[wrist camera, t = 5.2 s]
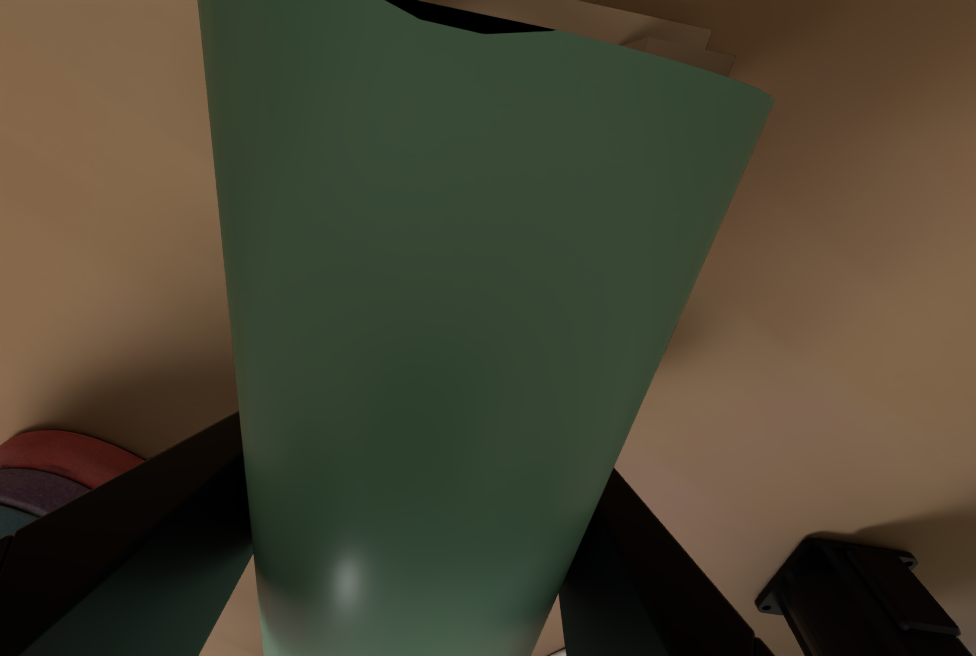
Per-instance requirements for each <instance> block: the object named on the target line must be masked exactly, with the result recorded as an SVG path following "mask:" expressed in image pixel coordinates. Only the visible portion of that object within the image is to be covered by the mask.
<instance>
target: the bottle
mask: <svg viewBox="0 0 976 656" xmlns="http://www.w3.org/2000/svg"><path fill="white" fill-rule="evenodd" d="M198 9H199V19H200V29H201V39H202V49H203V59H204V69H205V79H206V89H207V98H208V108H209V118H210V128H211V138H212V148H213V158H214V168H215V178H216V188H217V197H218V207H219V217H220V227H221V237H222V247H223V257H224V267H225V277H226V286H227V296H228V306H229V316H230V326H231V336H232V346H233V356H234V366H235V376H236V385H237V395H238V405H239V415H240V425H241V435H242V445H243V455H244V465H245V475H246V484H247V494H248V504H249V514H250V524H251V534H252V544H253V554H254V564H255V573H256V583H257V593H258V603H259V613H260V623H261V633H262V643H263V653H264V656H531V654H532V652H533V650H534V647H535V645H536V643H537V640H538V638H539V636H540V634H541V631H542V629H543V627H544V625H545V622H546V620H547V618H548V615H549V613H550V611H551V609H552V606H553V604H554V602H555V600H556V597H557V595H558V593H559V590H560V588H561V586H562V584H563V581H564V579H565V577H566V574H567V572H568V570H569V568H570V565H571V563H572V561H573V559H574V556H575V554H576V552H577V549H578V547H579V545H580V543H581V540H582V538H583V536H584V534H585V531H586V529H587V527H588V524H589V522H590V520H591V518H592V515H593V513H594V511H595V509H596V506H597V504H598V502H599V499H600V497H601V495H602V493H603V490H604V488H605V486H606V484H607V481H608V479H609V477H610V474H611V472H612V470H613V468H614V465H615V463H616V461H617V459H618V456H619V454H620V452H621V449H622V447H623V445H624V443H625V440H626V438H627V436H628V434H629V431H630V429H631V427H632V424H633V422H634V420H635V418H636V415H637V413H638V411H639V409H640V406H641V404H642V402H643V399H644V397H645V395H646V393H647V390H648V388H649V386H650V384H651V381H652V379H653V377H654V374H655V372H656V370H657V368H658V365H659V363H660V361H661V358H662V356H663V354H664V352H665V349H666V347H667V345H668V343H669V340H670V338H671V336H672V333H673V331H674V329H675V327H676V324H677V322H678V320H679V318H680V315H681V313H682V311H683V308H684V306H685V304H686V302H687V299H688V297H689V295H690V293H691V290H692V288H693V286H694V283H695V281H696V279H697V277H698V274H699V272H700V270H701V268H702V265H703V263H704V261H705V258H706V256H707V254H708V252H709V249H710V247H711V245H712V243H713V240H714V238H715V236H716V233H717V231H718V229H719V227H720V224H721V222H722V220H723V218H724V215H725V213H726V211H727V208H728V206H729V204H730V202H731V199H732V197H733V195H734V193H735V190H736V188H737V186H738V183H739V181H740V179H741V177H742V174H743V172H744V170H745V167H746V165H747V163H748V161H749V158H750V156H751V154H752V152H753V149H754V147H755V145H756V142H757V140H758V138H759V136H760V133H761V131H762V129H763V127H764V124H765V122H766V120H767V117H768V115H769V113H770V111H771V108H772V106H773V104H774V102H775V99H774V98H773V97H772V96H771V95H769V94H767V93H766V92H764V91H762V90H760V89H758V88H755V87H753V86H750V85H748V84H745V83H742V82H740V81H737V80H734V79H731V78H728V77H725V76H722V75H719V74H716V73H713V72H710V71H707V70H704V69H701V68H698V67H694V66H691V65H687V64H684V63H681V62H677V61H674V60H671V59H667V58H664V57H660V56H656V55H653V54H649V53H645V52H642V51H638V50H634V49H630V48H627V47H623V46H619V45H616V44H612V43H608V42H604V41H600V40H596V39H592V38H588V37H584V36H580V35H576V34H572V33H568V32H564V31H559V30H555V29H551V28H546V27H541V26H536V25H532V24H527V23H522V22H518V21H513V20H508V19H503V18H499V17H494V16H489V15H485V14H480V13H475V12H470V11H466V10H461V9H456V8H452V7H447V6H442V5H437V4H433V3H428V2H423V1H419V0H198Z"/></svg>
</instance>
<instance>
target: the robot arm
mask: <svg viewBox="0 0 976 656" xmlns="http://www.w3.org/2000/svg"><path fill="white" fill-rule="evenodd" d="M252 555H253V544H252V534H251V524H250V514H249V504H248V494H247V484H246V475H245V465H244V455H243V445H242V435H241V425H240V415H239V411H237V412H236V413H234V414H232V415H230V416H228V417H226V418H224V419H223V420H221V421H219V422H217V423H215V424H213V425H211V426H209V427H208V428H206V429H204V430H202V431H200V432H198V433H196V434H195V435H193V436H191V437H189V438H187V439H185V440H183V441H181V442H180V443H178V444H176V445H174V446H172V447H170V448H168V449H167V450H165V451H163V452H161V453H159V454H157V455H155V456H153V457H152V458H150V459H148V460H146V461H144V462H142V463H140V464H139V465H137V466H135V467H133V468H131V469H129V470H127V471H125V472H124V473H122V474H120V475H118V476H116V477H114V478H112V479H111V480H109V481H107V482H105V483H103V484H101V485H99V486H97V487H96V488H94V489H92V490H90V491H88V492H86V493H84V494H83V495H81V496H79V497H77V498H75V499H73V500H71V501H69V502H68V503H66V504H64V505H62V506H60V507H58V508H56V509H55V510H53V511H51V512H49V513H47V514H45V515H43V516H41V517H40V518H38V519H36V520H34V521H32V522H30V523H28V524H27V525H25V526H23V527H21V528H19V529H18V530H16V531H15V533H14V535H6V536H4V537H2V538H0V656H199V654H200V652H201V650H202V648H203V646H204V644H205V643H206V641H207V639H208V637H209V635H210V633H211V631H212V630H213V628H214V626H215V624H216V622H217V620H218V618H219V617H220V615H221V613H222V611H223V609H224V607H225V605H226V603H227V602H228V600H229V598H230V596H231V594H232V592H233V590H234V589H235V587H236V585H237V583H238V581H239V579H240V577H241V575H242V574H243V572H244V570H245V568H246V566H247V564H248V562H249V561H250V559H251V557H252ZM917 564H918V561H917V559H916V558H915V557H914V556H913V555H912V554H911V553H910V552H905V551H898V550H892V549H885V548H879V547H872V546H865V545H859V544H852V543H845V542H839V541H832V540H825V539H819V538H808V539H806V540H804V541H802V542H801V544H800V545H799V546H798V547H797V549H796V550H795V551H794V552H793V554H792V555H791V556H790V557H789V559H788V560H787V561H786V562H785V564H784V565H783V566H782V567H781V569H780V570H779V571H778V572H777V574H776V575H775V576H774V577H773V579H772V580H771V581H770V582H769V584H768V585H767V586H766V587H765V589H764V590H763V591H762V592H761V594H760V595H759V596H758V597H757V599H756V600H755V605H756V607H757V609H758V611H760V612H762V613H769V614H777V615H784V617H785V619H786V621H787V623H788V625H789V627H790V629H791V630H792V632H793V634H794V636H795V638H796V640H797V642H798V644H799V645H800V647H801V649H802V651H803V653H804V655H805V656H973V655H972V654H971V653H970V652H969V651H968V649H967V648H966V647H965V646H964V645H963V643H962V642H961V641H960V640H959V639H958V637H959V636H960V635H961V632H960V630H959V628H958V626H957V625H956V624H955V622H954V621H953V620H952V619H951V618H950V617H949V615H948V614H947V613H946V612H945V611H944V609H943V608H942V607H941V606H940V605H939V604H938V602H937V601H936V600H935V599H934V598H933V596H932V595H931V594H930V593H929V592H928V590H927V589H926V588H925V587H924V586H923V585H922V583H921V582H920V581H919V580H918V579H917V577H916V576H915V575H914V574H913V573H912V572H911V570H912V569H913V568H914V567H915V566H916V565H917ZM559 601H560V609H561V617H562V626H563V634H564V642H565V650H566V656H775V655H774V654H773V653H772V652H771V650H770V649H769V648H768V647H767V646H766V645H765V643H764V642H763V641H762V640H761V639H760V638H758V637H755V633H754V631H753V630H752V628H751V627H750V626H749V625H748V624H747V623H746V621H745V620H744V619H743V618H742V617H741V616H740V614H739V613H738V612H737V611H736V610H735V609H734V607H733V606H732V605H731V604H730V603H729V602H728V600H727V599H726V598H725V597H724V596H723V594H722V593H721V592H720V591H719V590H718V589H717V587H716V586H715V585H714V584H713V583H712V582H711V580H710V579H709V578H708V577H707V576H706V575H705V573H704V572H703V571H702V570H701V569H700V568H699V566H698V565H697V564H696V563H695V562H694V561H693V559H692V558H691V557H690V556H689V555H688V553H687V552H686V551H685V550H684V549H683V548H682V546H681V545H680V544H679V543H678V542H677V541H676V539H675V538H674V537H673V536H672V535H671V534H670V532H669V531H668V530H667V529H666V528H665V527H664V525H663V524H662V523H661V522H660V521H659V520H658V518H657V517H656V516H655V515H654V514H653V512H652V511H651V510H650V509H649V508H648V507H647V505H646V504H645V503H644V502H643V501H642V500H641V498H640V497H639V496H638V495H637V494H636V493H635V491H634V490H633V489H632V488H631V487H630V486H629V484H628V483H627V482H626V481H625V480H624V479H623V477H622V476H621V475H620V474H619V473H618V471H617V470H616V469H615V468H613V470H612V472H611V474H610V477H609V479H608V481H607V484H606V486H605V488H604V490H603V493H602V495H601V497H600V499H599V502H598V504H597V506H596V509H595V511H594V513H593V515H592V518H591V520H590V522H589V524H588V527H587V529H586V531H585V534H584V536H583V538H582V540H581V543H580V545H579V547H578V549H577V552H576V554H575V556H574V559H573V561H572V563H571V565H570V568H569V570H568V572H567V574H566V577H565V579H564V581H563V584H562V586H561V588H560V590H559Z"/></svg>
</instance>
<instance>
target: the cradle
mask: <svg viewBox="0 0 976 656" xmlns="http://www.w3.org/2000/svg"><path fill="white" fill-rule="evenodd" d="M419 1H423V2H428V3H433V4H437V5H442V6H447V7H452V8H456V9H461V10H466V11H470V12H475V13H480V14H485V15H489V16H494V17H499V18H503V19H508V20H513V21H518V22H522V23H527V24H532V25H536V26H541V27H546V28H551V29H555V30H559V31H564V32H568V33H572V34H576V35H580V36H584V37H588V38H592V39H596V40H600V41H604V42H608V43H612V44H616V45H619V46H623V47H627V48H630V49H634V50H638V51H642V52H645V53H649V54H653V55H656V56H660V57H664V58H667V59H671V60H674V61H677V62H681V63H684V64H687V65H691V66H694V67H698V68H701V69H704V70H707V71H710V72H713V73H716V74H719V75H722V76H725V77H728V75H729V72H730V70H731V67H732V64H733V62H734V59H735V57H736V56H734V55H729V54H724V53H720V52H715V51H711V50H706V46H707V43H708V40H709V38H710V35H711V32H712V30H710V29H706V28H701V27H697V26H692V25H687V24H683V23H678V22H674V21H669V20H665V19H660V18H656V17H651V16H647V15H642V14H638V13H633V12H629V11H624V10H620V9H615V8H611V7H606V6H602V5H597V4H593V3H588V2H584V1H579V0H419Z"/></svg>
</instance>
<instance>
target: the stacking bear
mask: <svg viewBox="0 0 976 656" xmlns="http://www.w3.org/2000/svg"><path fill="white" fill-rule="evenodd" d="M142 462H144V460H142V459H141V458H139V457H137V456H135V455H133V454H131V453H129V452H127V451H125V450H123V449H121V448H118V447H116V446H114V445H111V444H109V443H106V442H104V441H101V440H98V439H96V438H93V437H89V436H86V435H82V434H78V433H73V432H67V431H60V430H39V431H32V432H27V433H23V434H19V435H17V436H15V437H12V438H10V439H9V440H7V441H6V442H4V443H3V444H2V445H0V538H2V537H4V536H6V535H14V533H15V531H16V530H18V529H19V528H21V527H23V526H25V525H27V524H28V523H30V522H32V521H34V520H36V519H38V518H40V517H41V516H43V515H45V514H47V513H49V512H51V511H53V510H55V509H56V508H58V507H60V506H62V505H64V504H66V503H68V502H69V501H71V500H73V499H75V498H77V497H79V496H81V495H83V494H84V493H86V492H88V491H90V490H92V489H94V488H96V487H97V486H99V485H101V484H103V483H105V482H107V481H109V480H111V479H112V478H114V477H116V476H118V475H120V474H122V473H124V472H125V471H127V470H129V469H131V468H133V467H135V466H137V465H139V464H140V463H142Z"/></svg>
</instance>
